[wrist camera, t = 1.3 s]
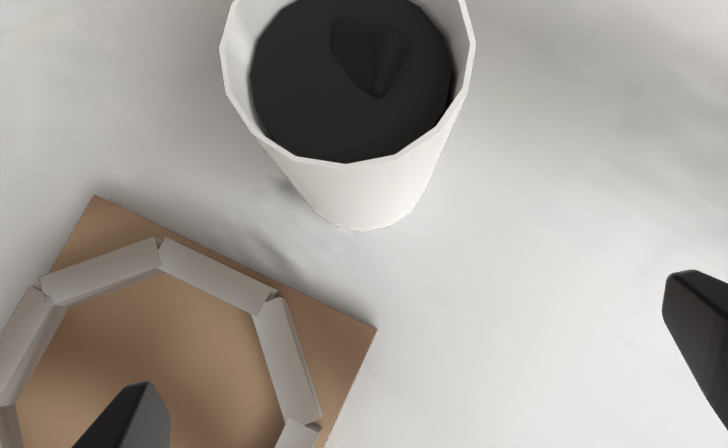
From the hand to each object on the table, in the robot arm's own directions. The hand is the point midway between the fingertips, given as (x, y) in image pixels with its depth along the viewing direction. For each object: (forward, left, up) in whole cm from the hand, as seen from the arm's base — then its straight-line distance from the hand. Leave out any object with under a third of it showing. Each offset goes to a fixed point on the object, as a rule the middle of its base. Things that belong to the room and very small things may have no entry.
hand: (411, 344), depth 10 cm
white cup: (+6, +5, -13) cm, 15 cm away
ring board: (-6, +8, -13) cm, 17 cm away
